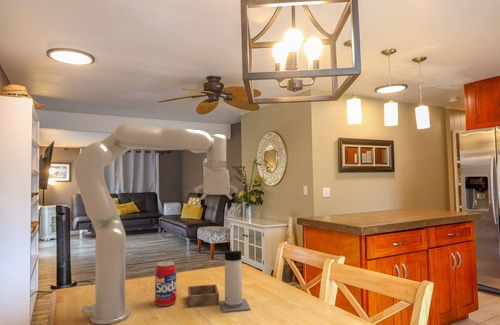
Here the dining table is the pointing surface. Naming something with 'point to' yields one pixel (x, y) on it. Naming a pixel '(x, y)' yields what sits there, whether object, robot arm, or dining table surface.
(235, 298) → the travel mug
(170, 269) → the soda can
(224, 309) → the rubber mat
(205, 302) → the brown wooden tray
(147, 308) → the dining table surface
